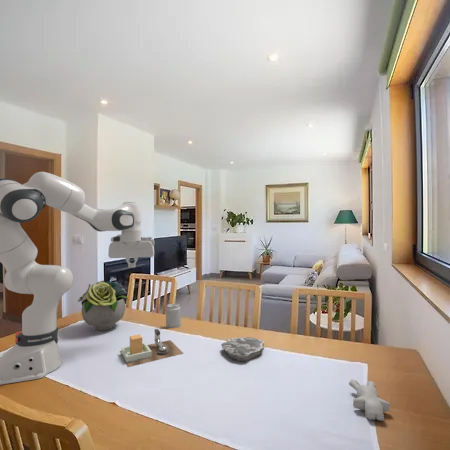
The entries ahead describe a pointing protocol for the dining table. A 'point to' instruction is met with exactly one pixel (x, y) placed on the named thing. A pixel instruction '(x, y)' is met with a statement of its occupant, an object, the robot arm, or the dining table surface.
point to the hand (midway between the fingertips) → (132, 267)
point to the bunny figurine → (369, 400)
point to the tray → (136, 357)
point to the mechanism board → (158, 353)
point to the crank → (157, 341)
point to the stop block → (135, 344)
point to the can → (173, 316)
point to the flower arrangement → (103, 304)
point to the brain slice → (243, 348)
